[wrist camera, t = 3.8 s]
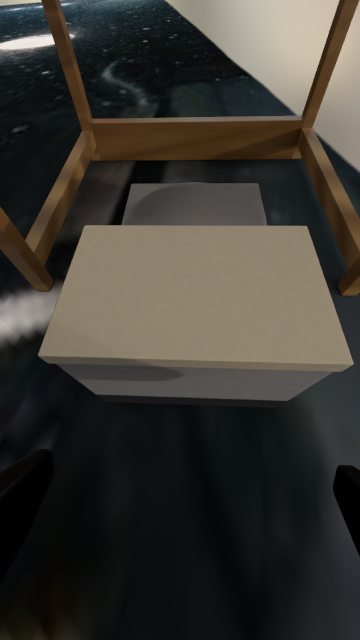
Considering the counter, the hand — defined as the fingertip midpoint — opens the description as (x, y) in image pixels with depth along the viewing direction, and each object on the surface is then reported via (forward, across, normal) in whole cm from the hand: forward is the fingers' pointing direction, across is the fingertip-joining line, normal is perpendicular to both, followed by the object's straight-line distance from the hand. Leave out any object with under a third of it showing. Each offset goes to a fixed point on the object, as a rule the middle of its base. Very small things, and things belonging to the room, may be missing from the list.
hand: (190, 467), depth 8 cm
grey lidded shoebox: (+13, 0, -3) cm, 14 cm away
